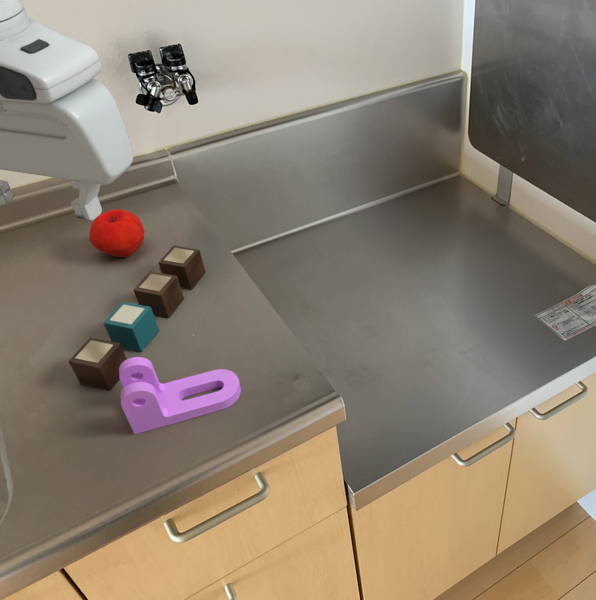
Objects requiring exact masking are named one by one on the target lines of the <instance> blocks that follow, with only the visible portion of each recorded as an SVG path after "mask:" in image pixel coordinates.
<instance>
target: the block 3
mask: <svg viewBox="0 0 596 600" xmlns="http://www.w3.org/2000/svg"><path fill="white" fill-rule="evenodd" d="M133 294H134V296H135V299H136V301H137V304H138V305H143V306H148V307H151V309H152V312H153V314H154V317H156V316H157V317H161V318H166V319H169V318H171V316H172V315H173V314H174V312H175V311H176V310H177V308H178V307H179V306H180V305H181V304H182V302H183V301H184V299H185V297H184V294H183V290H182V288H181V287H180V284H179V280H178V277H177V276H174V275H168V274H163V273H162V272H157V271H153V270H152V271H149V272H148V273H147V274H146V275H145V276H144V277H143V279H141V281H140V282H139V283H138V284H137V285H136V286H135V287H134V289H133Z"/></svg>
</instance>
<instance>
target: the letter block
mask: <svg viewBox="0 0 596 600" xmlns="http://www.w3.org/2000/svg"><path fill="white" fill-rule="evenodd" d="M102 324H103V326H104V328H105V331H106V333H107V335H108V337H109V339H110V340H109V341H112V342H117V343H120V344H121V347H122V349H126V350H130V351H135V352H140V353H142V352H143V351H144V350H145V349H146V347H148V345H149V344H150V343H151V341H152V340H153V339H154V338H155V336H156V335H157V334H158V333H159V331H160V328H159V326H158V323H157V320H156V316H155V315H154V314H153V312H152V309H151V307H148V306H143V305H139V304H138V303H132V302H126V301H122V302H120V303H119V305H117V307H116V308H115V309H114V310H113V311H112V312H111V313H110V315H108V317H107V318H106V319H105V320H104V321H103V322H102Z"/></svg>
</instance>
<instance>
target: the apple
mask: <svg viewBox="0 0 596 600" xmlns="http://www.w3.org/2000/svg"><path fill="white" fill-rule="evenodd" d="M88 235H89V236H88V237H89V241H90V243H91V245H92V246H93V247H94V248H95V249H96V250H98V251H99V252H101V253H104V254H107V255H110V256H113V257H117V258H128V257H131V256H133V255H134V254H136V253H137V252H138V251H139V250H140V249H141V247H142V245H143V243H144V239H145V228H144V225H143V223H142V220H141V219H140V218H139V217H138V215H136V214H134V213H133V212H130V211H128V210H125V209H120V208H119V209H117V208H116V209H111V210H108V211H105V212H103V213H101V214H100V215H99V216H98V217H97V218H95V219H94V220H92V223H91V226H90V228H89V234H88Z"/></svg>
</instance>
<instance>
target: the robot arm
mask: <svg viewBox="0 0 596 600" xmlns="http://www.w3.org/2000/svg"><path fill="white" fill-rule="evenodd" d="M101 72H102V63H101V60H100V57H99V55H98V52H96V50H95V49H94V48H93V47H91V46H90V45H88V44H85V43H83V42H81V41H79V40H76V39H73V38H72V37H69V36H67V35H64V34H62V33H60V32H59V31H56V30H54V29H52V28H50V27H48V26H46V25H44V24H42V23H41V22H39V21H37V20H35V19H33V18H29V16H28V13H27V11H26V8H25V6H24V3H23V1H22V0H0V170H1V171H9V172H14V173H22V174H29V175H33V176H34V175H35V176H42V177H48V178H55V179H61V180H67V181H68V180H69V182H70V184H71V187H72V188H73V189H74V190H78V191H79V192H78V196H77V198H75V199H73V200H72V201H71V202H70V203H69V204H70V207H71V209H72V211H74V216H75V218H77V219H82V220H86V221H94V220H95V218H97V217H98V216H99V215H100V214H102V212H103V208H102V205H101V203H100V200H99V197H98V196H99V193H100V189H101V186H109V185H111V184H112V183H114V182H116V180H118V179H119V178H120V177H122V175H124V174H125V173H126V172H127V171H128V170H129V169H130V168H131V166H132V164H133V161H134V150H133V146H132V143H131V140H130V137H129V134H128V131H127V128H126V127H127V126H126V125H125V121H124V120H123V117H122V114H121V112H120V109H119V107H118V105H117V102H116V100H115V98H114V96H113V95H112V94H111V92H110V90H109V89H108V87H106V86H105V85H104V83H102V82H101V81H99V80H98V79H95V78H96V77H97V76H98V75H99V74H101ZM13 192H14V191H12V190H11V186H10V184H9V182H8V181H7V180H2V179H0V206H2V207H3V206H6V205H7V204H8V203H10V202H12V201H13V200H14V197H15V196H14V193H13Z"/></svg>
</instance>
